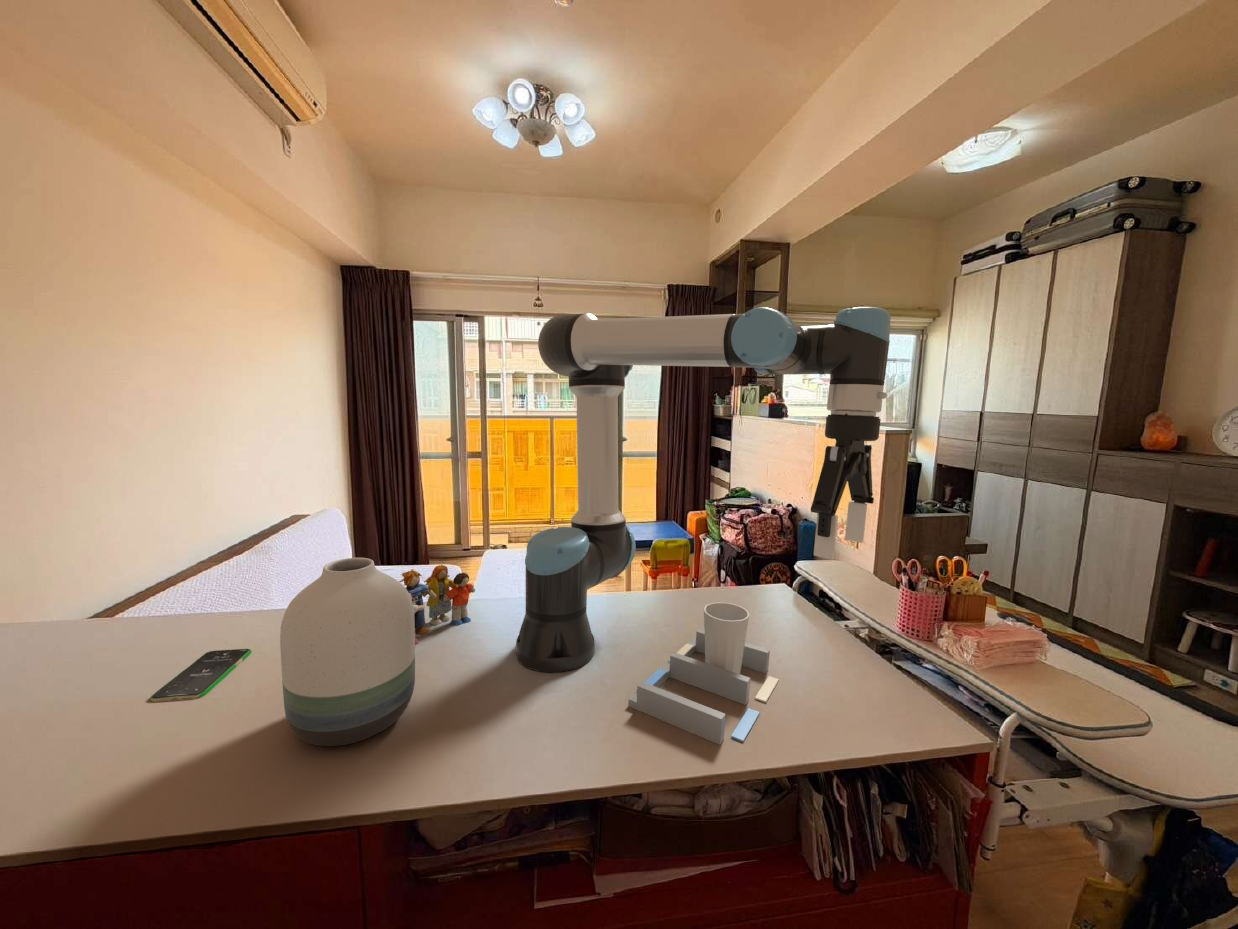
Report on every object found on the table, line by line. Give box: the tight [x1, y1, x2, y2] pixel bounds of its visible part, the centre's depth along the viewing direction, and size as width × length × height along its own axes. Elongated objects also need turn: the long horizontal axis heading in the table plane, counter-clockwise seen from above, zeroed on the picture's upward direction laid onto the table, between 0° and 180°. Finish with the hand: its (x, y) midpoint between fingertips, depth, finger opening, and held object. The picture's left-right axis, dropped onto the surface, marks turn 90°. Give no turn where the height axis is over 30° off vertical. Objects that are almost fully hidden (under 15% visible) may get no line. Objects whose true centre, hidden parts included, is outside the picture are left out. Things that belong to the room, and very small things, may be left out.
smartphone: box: [148, 648, 252, 703], centre depth 82 cm, size 8×1×15 cm
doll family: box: [398, 564, 476, 646], centre depth 100 cm, size 21×10×13 cm, turn 148°
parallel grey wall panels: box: [627, 628, 780, 746], centre depth 83 cm, size 18×24×4 cm
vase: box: [279, 557, 416, 747], centre depth 70 cm, size 17×17×24 cm
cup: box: [703, 602, 750, 675], centre depth 87 cm, size 8×8×12 cm
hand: (839, 548), depth 76 cm, fingers open, 13 cm apart
